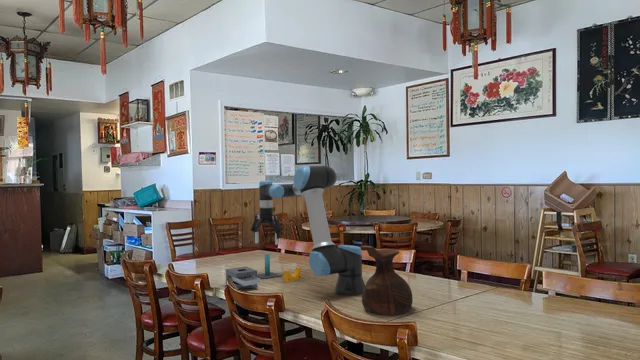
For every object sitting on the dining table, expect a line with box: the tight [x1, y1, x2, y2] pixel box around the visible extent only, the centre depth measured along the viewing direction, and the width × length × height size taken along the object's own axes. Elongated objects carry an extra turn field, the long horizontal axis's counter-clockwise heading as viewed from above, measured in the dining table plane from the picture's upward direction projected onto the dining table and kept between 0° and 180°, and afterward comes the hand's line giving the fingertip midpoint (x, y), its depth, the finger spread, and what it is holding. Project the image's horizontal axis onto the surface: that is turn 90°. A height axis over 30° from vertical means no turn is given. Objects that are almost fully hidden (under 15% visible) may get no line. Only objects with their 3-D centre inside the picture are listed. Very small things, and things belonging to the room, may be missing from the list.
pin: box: [264, 253, 271, 276], centre depth 284 cm, size 3×3×12 cm
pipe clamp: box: [283, 266, 302, 283], centre depth 273 cm, size 12×4×6 cm, turn 144°
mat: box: [255, 271, 282, 280], centre depth 284 cm, size 12×12×1 cm
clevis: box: [225, 266, 261, 290], centre depth 258 cm, size 20×12×8 cm, turn 33°
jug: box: [359, 245, 413, 316], centre depth 206 cm, size 22×22×30 cm
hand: (266, 243), depth 284 cm, fingers open, 13 cm apart
